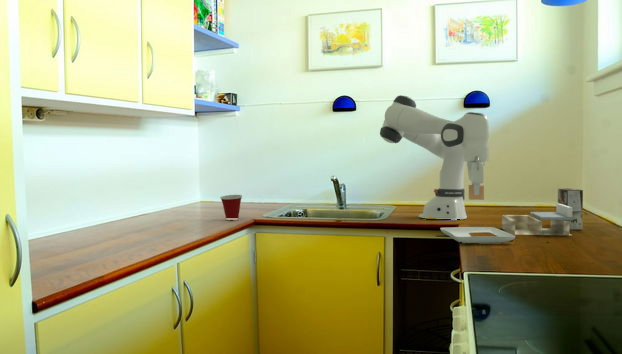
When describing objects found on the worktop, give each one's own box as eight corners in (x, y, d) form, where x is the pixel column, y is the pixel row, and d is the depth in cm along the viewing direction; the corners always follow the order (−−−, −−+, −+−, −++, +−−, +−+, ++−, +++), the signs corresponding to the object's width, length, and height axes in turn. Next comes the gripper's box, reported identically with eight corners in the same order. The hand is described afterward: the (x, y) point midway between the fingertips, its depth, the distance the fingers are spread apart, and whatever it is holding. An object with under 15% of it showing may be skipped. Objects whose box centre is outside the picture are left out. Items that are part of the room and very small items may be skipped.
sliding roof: (541, 219, 179) (541, 207, 179) (530, 214, 193) (530, 203, 193) (573, 220, 177) (573, 207, 177) (559, 214, 191) (559, 203, 191)
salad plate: (492, 234, 189) (492, 225, 189) (516, 245, 168) (517, 235, 168) (438, 235, 189) (438, 226, 188) (456, 246, 167) (456, 236, 167)
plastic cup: (216, 220, 235) (215, 196, 234) (229, 217, 244) (229, 194, 244) (234, 222, 230) (233, 197, 229) (247, 219, 239) (246, 195, 238)
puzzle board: (510, 237, 181) (510, 220, 181) (501, 230, 195) (501, 215, 195) (572, 237, 178) (572, 220, 177) (558, 231, 192) (558, 215, 191)
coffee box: (583, 229, 194) (584, 190, 193) (567, 229, 195) (567, 190, 194) (571, 226, 204) (572, 188, 203) (556, 226, 204) (556, 188, 203)
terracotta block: (469, 199, 176) (469, 186, 175) (468, 198, 180) (468, 185, 180) (483, 199, 174) (483, 185, 174) (482, 198, 179) (482, 185, 179)
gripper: (487, 157, 166) (487, 197, 166) (482, 155, 185) (482, 191, 186) (468, 157, 167) (468, 196, 168) (465, 156, 187) (465, 191, 188)
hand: (475, 194), depth 177 cm, fingers closed on terracotta block, 5 cm apart
